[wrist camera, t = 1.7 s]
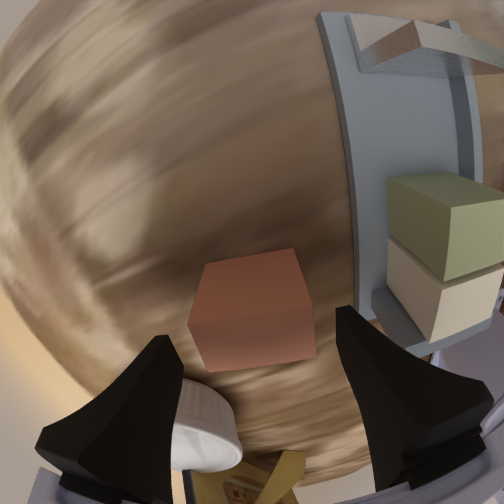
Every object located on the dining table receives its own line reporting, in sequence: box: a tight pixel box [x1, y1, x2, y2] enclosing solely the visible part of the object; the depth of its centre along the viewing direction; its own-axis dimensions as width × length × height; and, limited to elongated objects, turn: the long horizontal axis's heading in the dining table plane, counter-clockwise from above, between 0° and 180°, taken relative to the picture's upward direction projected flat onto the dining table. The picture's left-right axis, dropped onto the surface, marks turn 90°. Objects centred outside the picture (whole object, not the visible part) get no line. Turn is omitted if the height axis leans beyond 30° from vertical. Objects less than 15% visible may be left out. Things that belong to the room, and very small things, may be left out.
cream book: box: [386, 237, 504, 344], centre depth 12 cm, size 3×4×6 cm
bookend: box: [346, 14, 504, 79], centre depth 7 cm, size 3×6×6 cm, turn 101°
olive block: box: [386, 172, 504, 282], centre depth 10 cm, size 3×4×6 cm
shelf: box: [316, 12, 495, 358], centre depth 11 cm, size 18×8×6 cm, turn 11°
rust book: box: [187, 248, 317, 372], centre depth 14 cm, size 3×5×6 cm, turn 101°
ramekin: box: [171, 378, 243, 473], centre depth 19 cm, size 11×11×5 cm
